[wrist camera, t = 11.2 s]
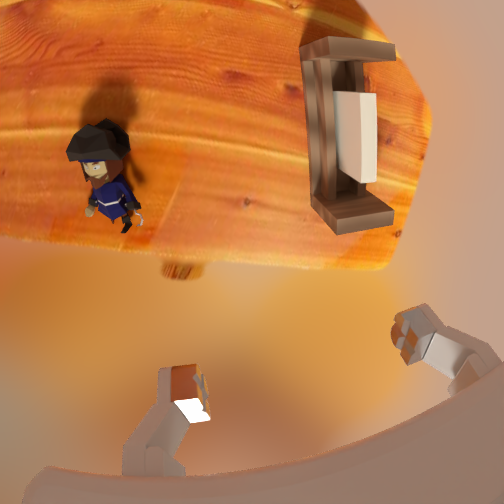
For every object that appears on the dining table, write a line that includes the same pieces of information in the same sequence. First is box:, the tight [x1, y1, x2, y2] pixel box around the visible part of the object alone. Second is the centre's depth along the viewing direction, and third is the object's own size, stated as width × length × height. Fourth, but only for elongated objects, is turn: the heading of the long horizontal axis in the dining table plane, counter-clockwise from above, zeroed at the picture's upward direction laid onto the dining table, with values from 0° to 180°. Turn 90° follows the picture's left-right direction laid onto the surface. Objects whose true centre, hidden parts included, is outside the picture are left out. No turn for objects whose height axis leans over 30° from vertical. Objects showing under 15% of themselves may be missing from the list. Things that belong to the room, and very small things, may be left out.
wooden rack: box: [299, 36, 396, 235], centre depth 31 cm, size 22×8×9 cm, turn 6°
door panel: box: [333, 91, 377, 183], centre depth 31 cm, size 10×2×8 cm, turn 6°
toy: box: [66, 118, 143, 233], centre depth 31 cm, size 9×6×15 cm
